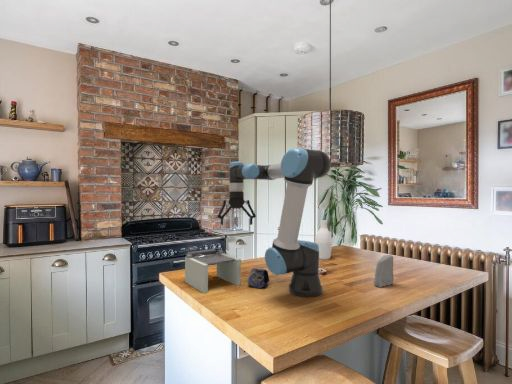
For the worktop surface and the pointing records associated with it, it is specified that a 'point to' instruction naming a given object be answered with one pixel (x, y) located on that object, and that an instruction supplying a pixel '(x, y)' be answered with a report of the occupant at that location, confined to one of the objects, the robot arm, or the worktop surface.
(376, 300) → the worktop surface
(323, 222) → the bottle
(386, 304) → the worktop surface
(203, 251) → the trapdoor
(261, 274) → the rock
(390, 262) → the decorative stone
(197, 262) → the frame
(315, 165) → the robot arm
